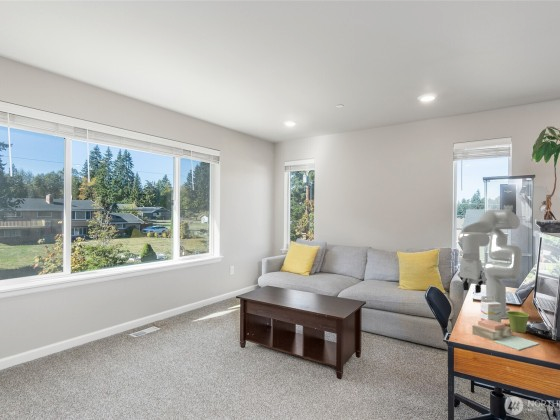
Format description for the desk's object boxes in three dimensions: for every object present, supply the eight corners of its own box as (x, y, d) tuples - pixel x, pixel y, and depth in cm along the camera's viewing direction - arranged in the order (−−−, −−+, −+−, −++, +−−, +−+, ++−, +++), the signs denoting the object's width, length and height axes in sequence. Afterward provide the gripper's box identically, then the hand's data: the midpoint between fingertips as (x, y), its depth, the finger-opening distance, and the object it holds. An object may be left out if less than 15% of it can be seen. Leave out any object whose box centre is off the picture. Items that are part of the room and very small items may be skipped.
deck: (490, 329, 159) (490, 321, 159) (511, 336, 150) (511, 327, 150) (472, 333, 153) (472, 325, 153) (493, 341, 144) (493, 332, 144)
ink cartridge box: (488, 326, 164) (487, 298, 164) (480, 323, 169) (480, 296, 169) (502, 325, 166) (501, 297, 166) (493, 322, 171) (493, 295, 171)
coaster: (488, 323, 157) (488, 319, 157) (505, 328, 150) (505, 324, 150) (478, 325, 154) (478, 321, 154) (495, 330, 146) (494, 326, 146)
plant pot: (502, 329, 159) (502, 312, 160) (513, 326, 163) (513, 310, 164) (522, 335, 151) (522, 317, 151) (534, 332, 155) (533, 315, 155)
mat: (513, 336, 150) (513, 335, 150) (539, 344, 140) (539, 343, 140) (493, 341, 143) (493, 340, 143) (518, 350, 134) (518, 349, 134)
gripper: (451, 255, 168) (452, 288, 167) (483, 259, 152) (484, 295, 151) (460, 254, 171) (461, 287, 170) (492, 258, 155) (493, 294, 155)
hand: (472, 291), depth 161 cm, fingers open, 5 cm apart
